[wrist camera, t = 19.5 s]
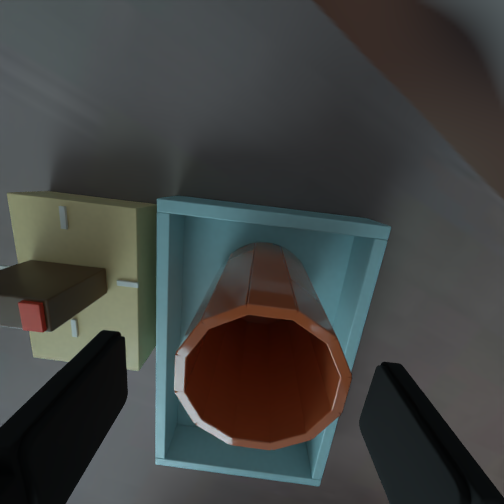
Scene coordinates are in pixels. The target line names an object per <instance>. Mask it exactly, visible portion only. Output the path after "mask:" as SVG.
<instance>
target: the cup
mask: <svg viewBox="0 0 504 504" xmlns="http://www.w3.org/2000/svg"><path fill="white" fill-rule="evenodd" d="M351 380H352V373H351V371H350V368H349V366H348V363H347V361H346V358H345V355H344V353H343V350H342V348H341V345H340V343H339V340H338V338H337V336H336V334H335V331H334V329H333V327H332V325H331V323H330V321H329V319H328V317H327V315H326V313H325V310H324V308H323V306H322V304H321V302H320V300H319V298H318V296H317V294H316V292H315V289H314V287H313V285H312V283H311V281H310V279H309V277H308V275H307V273H306V271H305V268H304V266H303V264H302V262H301V261H300V260H299V259H298V258H297V257H296V256H295V255H294V254H293V253H292V252H290V251H289V250H288V249H286V248H284V247H282V246H280V245H277V244H274V243H269V242H255V243H250V244H247V245H244V246H242V247H240V248H238V249H237V250H235V251H234V252H232V253H231V254H230V255H229V256H228V258H227V259H226V260H225V262H224V263H223V265H222V266H221V267H220V269H219V270H218V272H217V274H216V276H215V278H214V280H213V281H212V283H211V285H210V287H209V289H208V291H207V293H206V295H205V297H204V299H203V301H202V303H201V305H200V307H199V308H198V310H197V312H196V314H195V316H194V318H193V320H192V322H191V324H190V326H189V328H188V330H187V332H186V334H185V335H184V337H183V339H182V341H181V343H180V345H179V347H178V349H177V351H176V354H175V370H174V391H175V394H176V396H177V397H178V399H179V401H180V402H181V404H182V405H183V407H184V408H185V410H186V412H187V413H188V415H189V416H190V418H191V420H192V421H193V423H195V425H196V426H198V427H200V428H202V429H203V430H205V431H207V432H208V433H210V434H212V435H213V436H215V437H217V438H218V439H220V440H222V441H223V442H225V443H227V444H230V445H232V446H240V447H247V448H255V449H262V450H271V449H272V450H276V449H280V448H284V447H288V446H291V445H295V444H299V443H303V442H306V441H310V440H311V439H314V438H315V437H316V436H317V435H318V434H319V433H321V432H322V431H323V430H324V429H325V428H326V427H327V426H329V425H330V424H331V423H332V422H333V421H334V420H335V419H337V418H338V417H339V416H340V415H341V413H342V412H343V408H344V405H345V401H346V398H347V394H348V391H349V387H350V383H351Z"/></svg>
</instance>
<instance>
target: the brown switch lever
mask: <svg viewBox="0 0 504 504" xmlns="http://www.w3.org/2000/svg"><path fill="white" fill-rule="evenodd" d="M106 293H107V281H106V269H105V268H98V267H89V266H80V265H72V264H63V263H55V262H46V261H37V260H29V261H26V262H22V263H19V264H16V265H13V266H10V267H7V268H4V269H1V270H0V326H4V327H12V328H20V329H23V330H25V331H33V332H42V333H43V332H52V331H54V330H55V329H57V328H58V327H60V326H61V325H62V324H64V323H65V322H67V321H68V320H70V319H71V318H72V317H74V316H75V315H77V314H78V313H80V312H81V311H82V310H84V309H85V308H87V307H88V306H89V305H91V304H92V303H94V302H95V301H97V300H98V299H99V298H101V297H102V296H104V295H105V294H106Z"/></svg>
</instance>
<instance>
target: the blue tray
mask: <svg viewBox="0 0 504 504" xmlns="http://www.w3.org/2000/svg"><path fill="white" fill-rule="evenodd" d="M390 231H391V226H388V225H385V224H382V223H380V222H377V221H374V220H371V219H368V218H361V217H353V216H345V215H336V214H328V213H320V212H312V211H303V210H295V209H287V208H278V207H270V206H262V205H253V204H245V203H237V202H229V201H220V200H212V199H204V198H195V197H187V196H179V195H176V196H170V197H163V198H157V276H156V451H155V457H156V463H155V464H157V465H164V466H171V467H179V468H186V469H194V470H201V471H208V472H216V473H223V474H231V475H238V476H245V477H253V478H260V479H267V480H275V481H282V482H290V483H297V484H304V485H312V486H320V483H321V479H322V476H323V472H324V469H325V465H326V461H327V458H328V454H329V451H330V447H331V443H332V440H333V436H334V433H335V429H336V425H337V422H338V418H339V417H338V418H337V419H335V420H334V421H333V422H332V423H331V424H330V425H329V426H327V427H326V428H325V429H324V430H323V431H322V432H321V433H319V434H318V435H317V436H316V437H315V438H314V439H311V440H310V441H306V442H303V443H299V444H295V445H291V446H288V447H284V448H280V449H276V450H272V449H271V450H262V449H255V448H247V447H240V446H232V445H230V444H227V443H225V442H223V441H222V440H220V439H218V438H217V437H215V436H213V435H212V434H210V433H208V432H207V431H205V430H203V429H202V428H200V427H198V426H196V425H195V423H193V421H192V420H191V418H190V416H189V415H188V413H187V412H186V410H185V408H184V407H183V405H182V404H181V402H180V401H179V399H178V397H177V396H176V394H175V391H174V370H175V354H176V351H177V349H178V347H179V345H180V343H181V341H182V339H183V337H184V335H185V334H186V332H187V330H188V328H189V326H190V324H191V322H192V320H193V318H194V316H195V314H196V312H197V310H198V308H199V307H200V305H201V303H202V301H203V299H204V297H205V295H206V293H207V291H208V289H209V287H210V285H211V283H212V281H213V280H214V278H215V276H216V274H217V272H218V270H219V269H220V267H221V266H222V265H223V263H224V262H225V260H226V259H227V258H228V256H229V255H230V254H231V253H232V252H234V251H235V250H237V249H238V248H240V247H242V246H244V245H247V244H250V243H255V242H269V243H274V244H277V245H280V246H282V247H284V248H286V249H288V250H289V251H290V252H292V253H293V254H294V255H295V256H296V257H297V258H298V259H299V260H300V261H301V262H302V264H303V266H304V268H305V271H306V273H307V275H308V277H309V279H310V281H311V283H312V285H313V287H314V289H315V292H316V294H317V296H318V298H319V300H320V302H321V304H322V306H323V308H324V310H325V313H326V315H327V317H328V319H329V321H330V323H331V325H332V327H333V329H334V331H335V334H336V336H337V338H338V340H339V343H340V345H341V348H342V350H343V353H344V355H345V358H346V361H347V363H348V366H349V368H350V371H352V368H353V364H354V360H355V357H356V353H357V350H358V346H359V342H360V339H361V335H362V332H363V328H364V324H365V321H366V317H367V314H368V310H369V306H370V303H371V299H372V296H373V292H374V288H375V285H376V281H377V277H378V274H379V270H380V267H381V263H382V259H383V256H384V252H385V249H386V245H387V240H388V238H389V234H390Z"/></svg>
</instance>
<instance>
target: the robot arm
mask: <svg viewBox="0 0 504 504" xmlns="http://www.w3.org/2000/svg"><path fill="white" fill-rule="evenodd" d="M127 395H128V389H127V367H126V345H125V337H124V336H121V333H120V332H118V331H109V330H102V331H100V332H99V333H98V334H97V335H96V336H95V337H94V338H93V339H92V340H91V341H90V342H89V343H88V344H87V345H86V346H85V347H84V348H83V349H82V350H81V351H80V352H79V353H78V354H77V355H76V356H74V357H73V358H72V359H71V360H70V361H69V362H68V363H67V364H66V365H65V366H64V367H63V368H62V369H61V370H60V371H58V372H57V373H56V374H55V375H54V376H53V377H52V378H51V379H50V380H49V381H48V382H47V383H46V384H45V385H44V386H43V387H42V388H41V389H40V390H39V391H38V392H37V393H36V394H35V395H33V396H32V397H31V398H30V399H29V400H28V401H27V402H26V403H25V404H24V405H23V406H22V407H21V408H20V409H19V410H18V411H17V412H16V413H15V414H14V415H13V416H12V417H11V418H10V419H9V420H8V421H7V422H6V423H4V424H3V425H2V426H1V427H0V504H66V502H67V500H68V499H69V497H70V495H71V494H72V492H73V490H74V488H75V487H76V485H77V483H78V482H79V480H80V478H81V477H82V475H83V473H84V472H85V470H86V468H87V467H88V465H89V463H90V462H91V460H92V458H93V456H94V455H95V453H96V451H97V450H98V448H99V446H100V445H101V443H102V441H103V440H104V438H105V436H106V435H107V433H108V431H109V430H110V428H111V426H112V424H113V423H114V421H115V419H116V418H117V416H118V414H119V413H120V411H121V409H122V408H123V406H124V404H125V402H126V399H127ZM359 426H360V430H361V433H362V436H363V438H364V441H365V443H366V446H367V448H368V450H369V453H370V455H371V458H372V460H373V463H374V465H375V468H376V470H377V473H378V475H379V478H380V480H381V483H382V485H383V488H384V490H385V493H386V495H387V498H388V500H389V503H390V504H504V497H503V496H502V495H501V494H500V492H499V491H498V490H497V488H496V487H495V486H494V484H493V483H492V482H491V480H490V479H489V478H488V477H487V475H486V474H485V473H484V471H483V470H482V469H481V467H480V466H479V465H478V463H477V462H476V461H475V460H474V458H473V457H472V456H471V454H470V453H469V452H468V450H467V449H466V448H465V447H464V445H463V444H462V443H461V441H460V440H459V439H458V437H457V436H456V435H455V433H454V432H453V431H452V430H451V428H450V427H449V426H448V424H447V423H446V422H445V420H444V419H443V418H442V416H441V415H440V414H439V413H438V411H437V410H436V409H435V407H434V406H433V405H432V403H431V402H430V401H429V399H428V398H427V397H426V396H425V394H424V393H423V392H422V390H421V389H420V388H419V386H418V385H417V384H416V382H415V381H414V380H413V379H412V377H411V376H410V375H409V373H408V372H407V371H406V369H405V368H404V367H403V366H402V365H401V364H399V363H390V362H382V363H381V365H380V366H377V367H376V370H375V373H374V376H373V379H372V382H371V385H370V388H369V391H368V395H367V398H366V401H365V404H364V407H363V410H362V413H361V416H360V420H359Z"/></svg>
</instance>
